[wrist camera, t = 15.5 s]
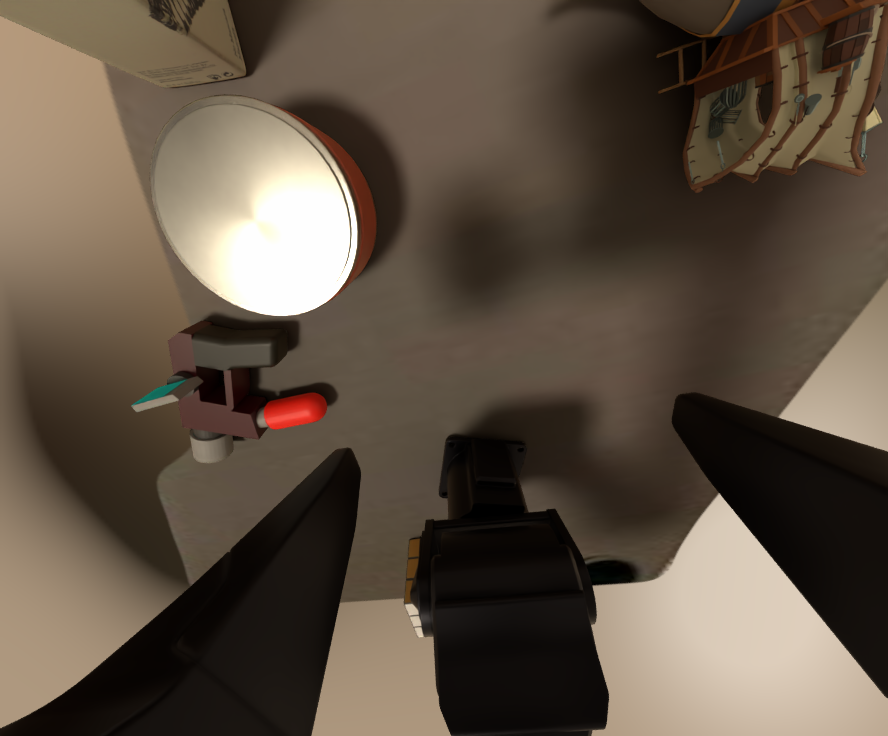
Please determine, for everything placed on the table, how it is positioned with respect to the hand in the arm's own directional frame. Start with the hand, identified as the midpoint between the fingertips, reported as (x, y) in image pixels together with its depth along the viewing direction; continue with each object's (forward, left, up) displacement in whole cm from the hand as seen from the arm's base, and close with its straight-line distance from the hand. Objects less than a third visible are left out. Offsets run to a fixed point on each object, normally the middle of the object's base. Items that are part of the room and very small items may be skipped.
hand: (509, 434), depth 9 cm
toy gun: (-8, +14, -13) cm, 21 cm away
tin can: (+4, +10, -13) cm, 17 cm away
